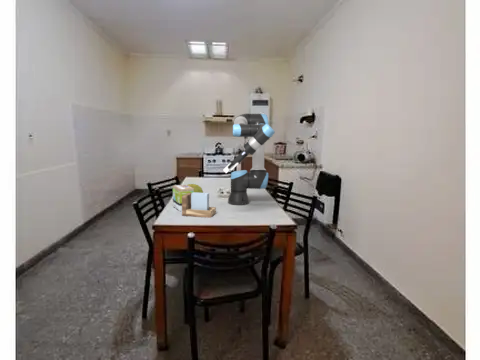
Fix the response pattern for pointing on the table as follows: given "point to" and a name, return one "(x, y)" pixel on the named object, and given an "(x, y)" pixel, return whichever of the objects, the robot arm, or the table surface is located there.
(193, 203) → the pale blue rectangular block
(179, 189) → the tea box
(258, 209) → the table surface
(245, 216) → the table surface
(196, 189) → the fruit
